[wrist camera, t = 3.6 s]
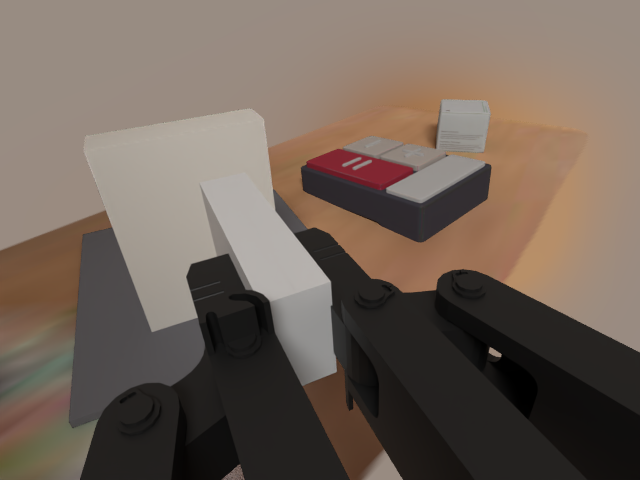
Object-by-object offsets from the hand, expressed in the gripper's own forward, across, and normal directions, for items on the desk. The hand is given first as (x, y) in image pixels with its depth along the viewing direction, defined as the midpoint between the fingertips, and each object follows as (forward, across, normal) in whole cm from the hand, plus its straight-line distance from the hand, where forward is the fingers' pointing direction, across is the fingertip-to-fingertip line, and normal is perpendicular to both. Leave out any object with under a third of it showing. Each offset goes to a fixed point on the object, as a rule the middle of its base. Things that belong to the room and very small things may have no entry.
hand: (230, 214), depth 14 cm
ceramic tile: (+11, 0, -12) cm, 16 cm away
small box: (+27, +34, -13) cm, 45 cm away
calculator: (+20, +19, -13) cm, 30 cm away
